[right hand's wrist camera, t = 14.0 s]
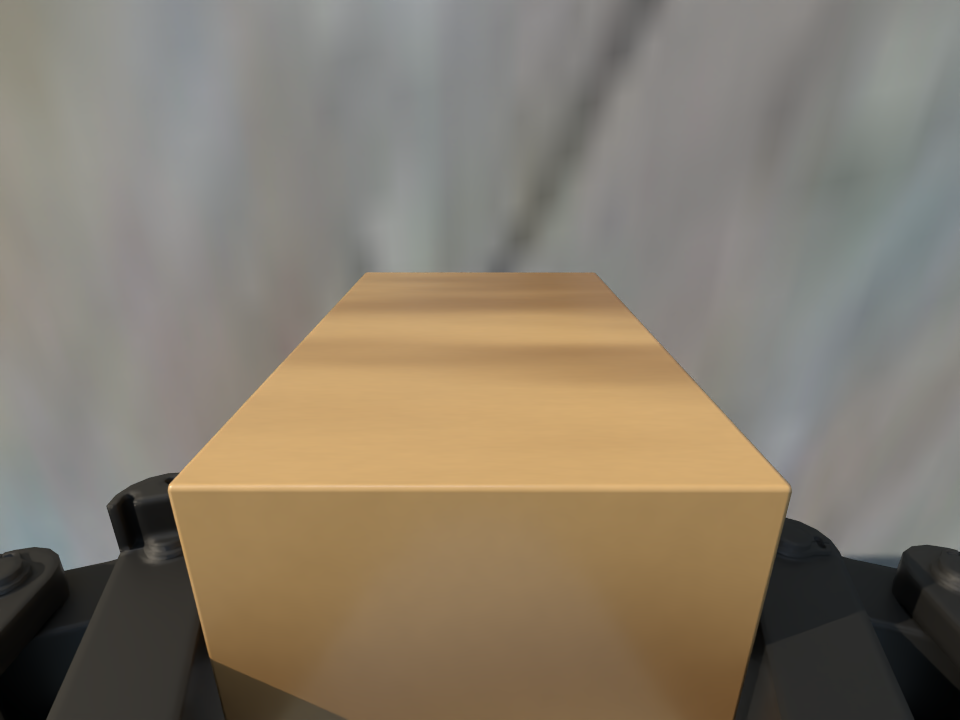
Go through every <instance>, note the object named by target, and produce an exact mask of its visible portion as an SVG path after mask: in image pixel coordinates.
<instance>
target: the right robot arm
mask: <svg viewBox="0 0 960 720" xmlns="http://www.w3.org/2000/svg"><path fill="white" fill-rule="evenodd" d="M178 474H179V473H168V474H164V475H159V476H155V477H151V478H148V479H145V480H143V481H140V482H138V483H136V484H133V485H131V486H129V487H128V488H126V489H125V490H123V491H122V492H120V493H118V494H117V495H116V496H115V497H114V498H113V499H112V500H111V501H110V502H109V504H108V505H107V509H108V513H109V516H110V519H111V523H112V526H113V529H114V533H115V536H116V539H117V543H118V546H119V549H120V555H119V557H118V559H116V560H113V561H109V562H104V563H100V564H95V565H90V566H85V567H81V568H76V569H71V570H66V571H64V569H63V567H62V564H61V561H60V558H59V555H58V554H56V553H55V552H54V551H52V550H51V549H48V548H38V547H32V548H25V549H19V550H13V551H9V552H5V553H4V554H0V720H225V718H224V714H223V710H222V706H221V702H220V698H219V694H218V690H217V686H216V682H215V678H214V674H213V670H212V666H211V662H210V658H209V654H208V650H207V646H206V642H205V638H204V634H203V630H202V626H201V622H200V618H199V614H198V610H197V606H196V602H195V598H194V594H193V590H192V586H191V582H190V578H189V574H188V570H187V566H186V562H185V558H184V554H183V550H182V546H181V542H180V538H179V534H178V530H177V526H176V522H175V518H174V514H173V510H172V506H171V502H170V498H169V494H168V487H169V484H170V483H171V482H172V481H173V480H174V479H175V478H176V477H177V475H178ZM735 720H960V552H958V550H954V549H950V548H945V547H938V546H931V545H921V546H912V547H910V548H909V549H907V550H906V551H904V552H903V554H902V557H901V560H900V563H899V565H898V568H897V569H896V568H891V567H886V566H881V565H877V564H872V563H867V562H862V561H858V560H853V559H849V558H845V557H842V556H841V554H840V552H839V551H838V549H837V548H836V546H835V545H834V544H833V542H832V541H831V540H830V539H829V538H827V537H826V536H825V535H823V534H822V533H820V532H819V531H818V530H816V529H814V528H812V527H810V526H808V525H806V524H804V523H802V522H799V521H796V520H792V519H788V518H785V521H784V525H783V529H782V533H781V537H780V541H779V545H778V549H777V553H776V557H775V561H774V565H773V569H772V573H771V577H770V581H769V585H768V589H767V593H766V597H765V601H764V605H763V609H762V613H761V617H760V621H759V625H758V629H757V633H756V637H755V641H754V645H753V649H752V653H751V657H750V661H749V665H748V669H747V673H746V677H745V681H744V685H743V689H742V693H741V697H740V701H739V705H738V709H737V713H736V717H735Z"/></svg>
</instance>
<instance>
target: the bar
mask: <svg viewBox="0 0 960 720" xmlns="http://www.w3.org/2000/svg"><path fill="white" fill-rule="evenodd" d="M791 493H792V490H791V486H790V484H789V483H788V482H787V481H786V480H785V479H784V478H783V477H782V475H781V474H780V473H779V472H778V471H777V470H776V469H775V468H774V467H773V466H772V465H771V464H770V462H769V461H768V460H767V459H766V458H765V457H764V456H763V455H762V454H761V453H760V452H759V450H758V449H757V448H756V447H755V446H754V445H753V444H752V443H751V442H750V441H749V440H748V439H747V437H746V436H745V435H744V434H743V433H742V432H741V431H740V430H739V429H738V428H737V427H736V425H735V424H734V423H733V422H732V421H731V420H730V419H729V418H728V417H727V416H726V415H725V414H724V412H723V411H722V410H721V409H720V408H719V407H718V406H717V405H716V404H715V403H714V402H713V400H712V399H711V398H710V397H709V396H708V395H707V394H706V393H705V392H704V391H703V390H702V388H701V387H700V386H699V385H698V384H697V383H696V382H695V381H694V380H693V379H692V378H691V377H690V375H689V374H688V373H687V372H686V371H685V370H684V369H683V368H682V367H681V366H680V365H679V363H678V362H677V361H676V360H675V359H674V358H673V357H672V356H671V355H670V354H669V353H668V352H667V350H666V349H665V348H664V347H663V346H662V345H661V344H660V343H659V342H658V341H657V340H656V338H655V337H654V336H653V335H652V334H651V333H650V332H649V331H648V330H647V329H646V328H645V327H644V325H643V324H642V323H641V322H640V321H639V320H638V319H637V318H636V317H635V316H634V315H633V313H632V312H631V311H630V310H629V309H628V308H627V307H626V306H625V305H624V304H623V303H622V301H621V300H620V299H619V298H618V297H617V296H616V295H615V294H614V293H613V292H612V291H611V290H610V288H609V287H608V286H607V285H606V284H605V283H604V282H603V281H602V280H601V279H600V278H599V276H598V275H597V274H596V273H365V274H364V275H363V276H362V277H361V278H360V280H359V281H358V282H357V283H356V284H355V285H354V286H353V287H352V288H351V289H350V290H349V291H348V292H347V294H346V295H345V296H344V297H343V298H342V299H341V300H340V301H339V302H338V303H337V304H336V305H335V306H334V308H333V309H332V310H331V311H330V312H329V313H328V314H327V315H326V316H325V317H324V318H323V319H322V320H321V322H320V323H319V324H318V325H317V326H316V327H315V328H314V329H313V330H312V331H311V332H310V333H309V334H308V336H307V337H306V338H305V339H304V340H303V341H302V342H301V343H300V344H299V345H298V346H297V347H296V348H295V350H294V351H293V352H292V353H291V354H290V355H289V356H288V357H287V358H286V359H285V360H284V361H283V362H282V364H281V365H280V366H279V367H278V368H277V369H276V370H275V371H274V372H273V373H272V374H271V375H270V376H269V377H268V379H267V380H266V381H265V382H264V383H263V384H262V385H261V386H260V387H259V388H258V389H257V390H256V391H255V393H254V394H253V395H252V396H251V397H250V398H249V399H248V400H247V401H246V402H245V403H244V404H243V405H242V407H241V408H240V409H239V410H238V411H237V412H236V413H235V414H234V415H233V416H232V417H231V418H230V419H229V421H228V422H227V423H226V424H225V425H224V426H223V427H222V428H221V429H220V430H219V431H218V432H217V433H216V435H215V436H214V437H213V438H212V439H211V440H210V441H209V442H208V443H207V444H206V445H205V446H204V447H203V449H202V450H201V451H200V452H199V453H198V454H197V455H196V456H195V457H194V458H193V459H192V460H191V461H190V463H189V464H188V465H187V466H186V467H185V468H184V469H183V470H182V471H181V472H180V473H179V474H178V475H177V477H176V478H175V479H174V480H173V481H172V482H171V483H170V484H169V487H168V494H169V498H170V502H171V506H172V510H173V514H174V518H175V522H176V526H177V530H178V534H179V538H180V542H181V546H182V550H183V554H184V558H185V562H186V566H187V570H188V574H189V578H190V582H191V586H192V590H193V594H194V598H195V602H196V606H197V610H198V614H199V618H200V622H201V626H202V630H203V634H204V638H205V642H206V646H207V650H208V654H209V658H210V662H211V666H212V670H213V674H214V678H215V682H216V686H217V690H218V694H219V698H220V702H221V706H222V710H223V714H224V718H225V720H735V717H736V713H737V709H738V705H739V701H740V697H741V693H742V689H743V685H744V681H745V677H746V673H747V669H748V665H749V661H750V657H751V653H752V649H753V645H754V641H755V637H756V633H757V629H758V625H759V621H760V617H761V613H762V609H763V605H764V601H765V597H766V593H767V589H768V585H769V581H770V577H771V573H772V569H773V565H774V561H775V557H776V553H777V549H778V545H779V541H780V537H781V533H782V529H783V525H784V521H785V517H786V513H787V509H788V505H789V501H790V497H791Z"/></svg>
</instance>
